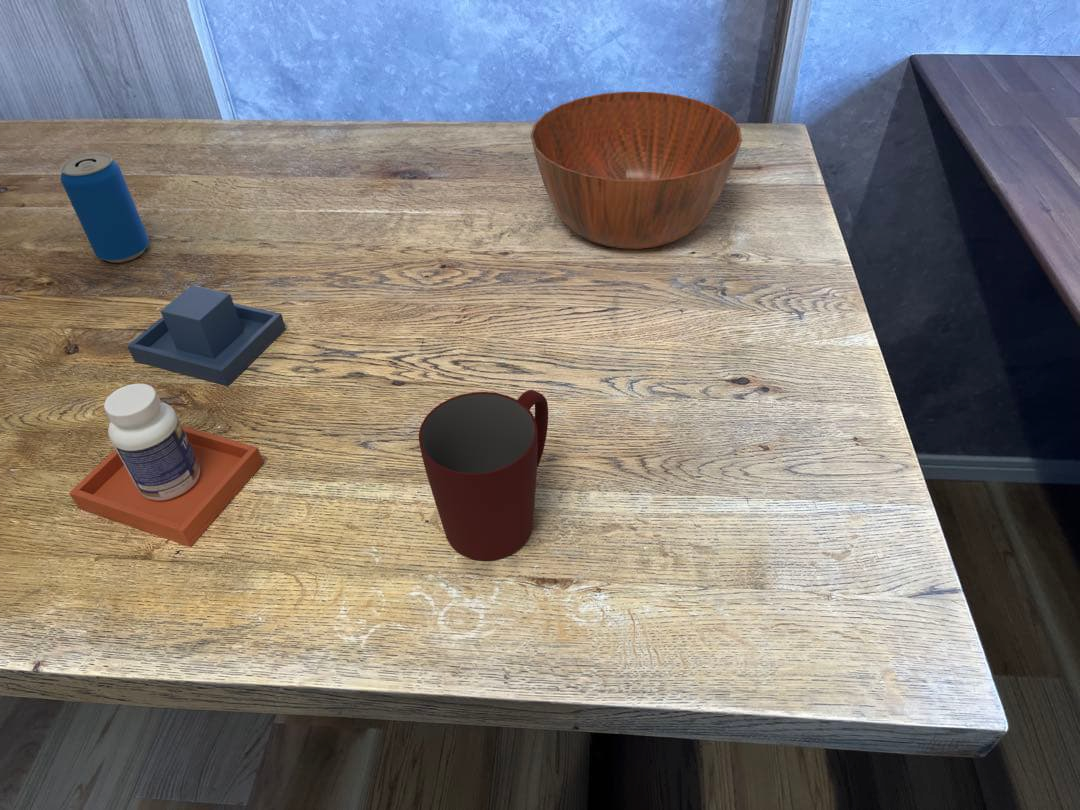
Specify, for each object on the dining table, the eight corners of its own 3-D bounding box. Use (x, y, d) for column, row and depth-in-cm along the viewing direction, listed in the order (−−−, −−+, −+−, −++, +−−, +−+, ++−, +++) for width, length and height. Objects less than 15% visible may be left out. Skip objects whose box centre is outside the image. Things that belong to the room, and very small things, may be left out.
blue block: (176, 349, 87) (159, 310, 83) (206, 322, 90) (192, 284, 87) (214, 359, 85) (199, 320, 82) (243, 331, 89) (230, 293, 85)
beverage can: (144, 233, 106) (108, 145, 98) (157, 254, 102) (120, 165, 94) (92, 249, 104) (51, 160, 96) (103, 271, 100) (61, 181, 92)
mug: (508, 451, 75) (500, 357, 67) (585, 496, 70) (586, 401, 63) (414, 532, 68) (393, 438, 61) (493, 587, 64) (481, 493, 56)
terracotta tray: (78, 508, 71) (68, 492, 70) (158, 432, 78) (150, 416, 77) (190, 547, 68) (182, 531, 66) (264, 463, 75) (257, 447, 73)
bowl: (684, 292, 92) (694, 200, 85) (497, 240, 102) (490, 154, 94) (757, 196, 108) (770, 111, 100) (589, 159, 118) (589, 79, 110)
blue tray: (134, 361, 86) (126, 345, 85) (196, 307, 93) (190, 292, 92) (228, 386, 83) (222, 370, 81) (286, 328, 90) (281, 313, 88)
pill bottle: (213, 478, 73) (176, 397, 66) (156, 513, 70) (112, 431, 63) (184, 449, 75) (146, 368, 69) (128, 481, 73) (83, 400, 66)
